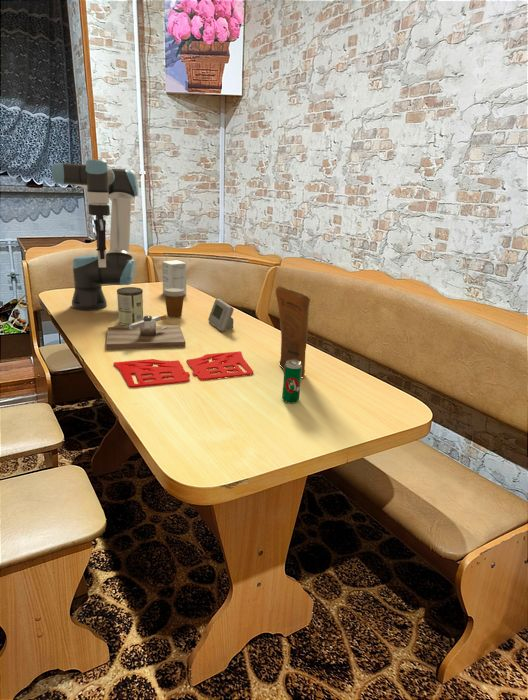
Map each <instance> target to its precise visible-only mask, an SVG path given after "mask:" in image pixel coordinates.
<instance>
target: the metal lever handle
mask: <svg viewBox="0 0 528 700" xmlns="http://www.w3.org/2000/svg"><path fill="white" fill-rule="evenodd" d="M165 320H167V314H164V313H160V314H157V315H155V316H152V315H143V318H141V319H140V321H139V322H136V323H132V324H129V326H128V327H129V329H132V330H133V329H136V328H139V327H140V334H141V335H143V336H152V335H155V334H156V326H157V322H160V321H165Z"/></svg>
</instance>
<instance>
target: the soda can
mask: <svg viewBox="0 0 528 700" xmlns="http://www.w3.org/2000/svg"><path fill="white" fill-rule="evenodd" d="M301 373H302V365H301V362H300V361H297V360H288V361H286V364H285V366H284V369H283V380H282V381H283V382H282V391H281V392H282V394H281V399H282V400H283V402H285V401H287V402H286V403H288V402H295V403H297V402H298V401H300V392H301V382H302V378H301Z"/></svg>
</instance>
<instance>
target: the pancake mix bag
mask: <svg viewBox="0 0 528 700" xmlns="http://www.w3.org/2000/svg"><path fill="white" fill-rule="evenodd" d="M275 298H276V302H277V306H278V307H277V309H278V316H279V325H280V336H281V337H280V338H281V341H280V342H281V344H280V358H279V359H280V360H279V363H280V365H281V366H282V367H283V368H284V366H285V364H286V361H288V360H297V361H300V362H301V365H302V373H301V377H304V378H305V375H304V374H306V368H305V367H306V350H307V344H308V343H307V342H308V329H309V315H310V304H311V298H309V296H307V295H305V294H303V293H301V292H298V291H295V290H292V289H288V288H285V287H282V286H280V285H278V286H276V287H275ZM282 367H281V368H282ZM283 368H282V369H283Z"/></svg>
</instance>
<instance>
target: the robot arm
mask: <svg viewBox="0 0 528 700" xmlns="http://www.w3.org/2000/svg"><path fill="white" fill-rule="evenodd" d="M51 177H52V178H51V179H52V181H53V182H54V183H55V184H58V185H71V186H76V187H81V188H82V189H83V190H85V191H87V202H88V203H89V204H87V207H88V209H87V210H88V214H89V215H91V216H95V219H93V224H94V231H95V237H96V248H95V249H96V250H95V251H97V254H95V253H94V254H93V253H91V254H84V255H83V254H82V255H79V256H75V257H74V258H73V260H72V271H73V272H72V273H73V285H74V291H73V296H72V299H71V307H72V309H76V310H78V311H79V310H80V311H95V310H101V309H104V308H106V307H107V305H108V304H107V299H106V297H105V294H104V292H103V289H102V285H113V286H115V285H116V286H130V285H131V284H132V283H133V282H134V279H135V277H136V266H137V264H136V259H133V255H132V254H131V253H130V242H131V241H130V239H131V236H130V235H131V213H132V211H131V210H132V203H134V201H135V198H136V197H138V196H139V184H138V178H137V174H136V172H135V170H133V169H127V168H114V167H113V168H111V167H110V166H108V162H107V161H106V160H104V159H92V158H91V159H87V160H86V161H85V164H79V163H63V162H54V163H52V165H51ZM110 201H111V205H109V204H110ZM110 207H111V209H110ZM109 215H110V230H109V231H110V232H109V238H110V239H109V251H107V252H106V250H107V246H106V243H107V242H106V232H107V231H106V228H107V226H106V225H107V221H106V220H105V219H104V217H105V216H109Z"/></svg>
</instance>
